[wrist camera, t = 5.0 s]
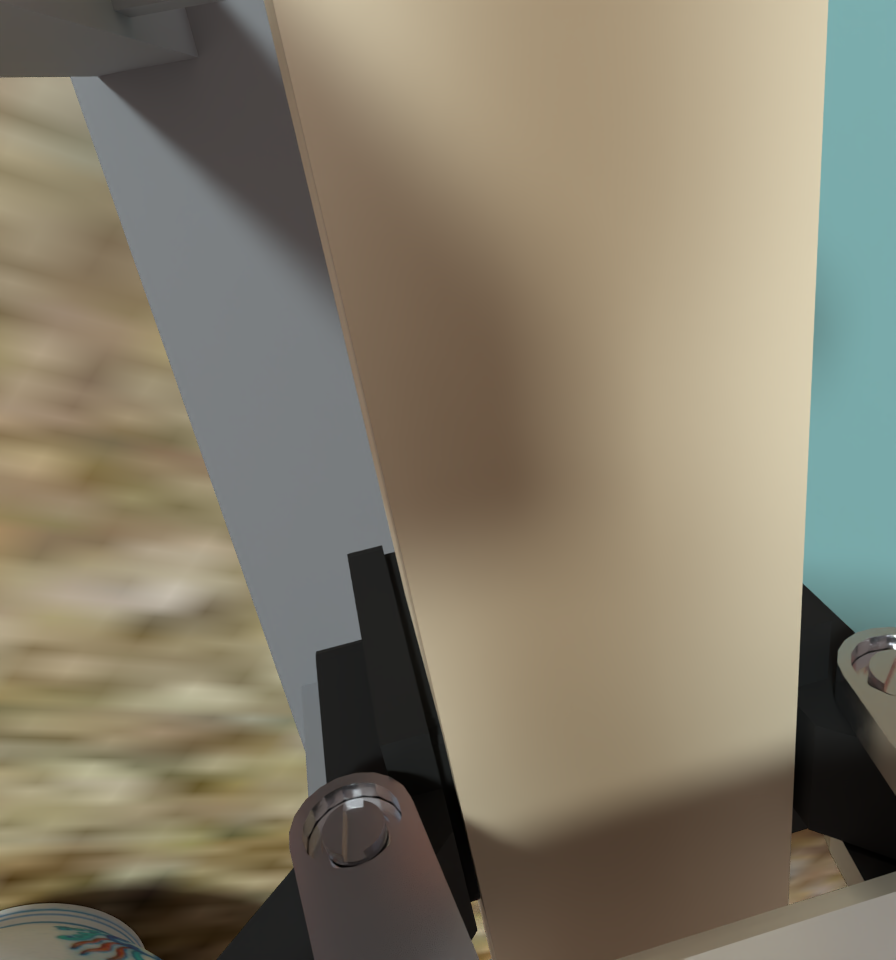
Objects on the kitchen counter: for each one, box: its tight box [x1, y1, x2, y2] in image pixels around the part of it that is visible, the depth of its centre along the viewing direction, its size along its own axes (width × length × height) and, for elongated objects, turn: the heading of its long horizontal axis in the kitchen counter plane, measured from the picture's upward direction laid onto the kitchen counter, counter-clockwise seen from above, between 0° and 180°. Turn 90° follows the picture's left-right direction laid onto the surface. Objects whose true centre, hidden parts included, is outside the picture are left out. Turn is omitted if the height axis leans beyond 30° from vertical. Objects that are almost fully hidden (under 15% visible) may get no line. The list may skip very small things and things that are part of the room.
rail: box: [264, 0, 828, 960], centre depth 10 cm, size 4×24×3 cm, turn 10°
